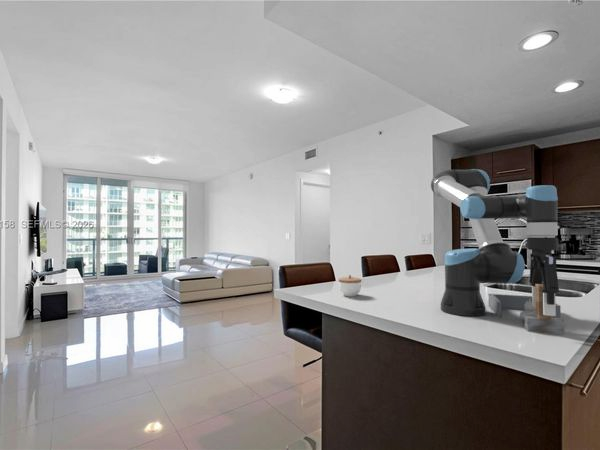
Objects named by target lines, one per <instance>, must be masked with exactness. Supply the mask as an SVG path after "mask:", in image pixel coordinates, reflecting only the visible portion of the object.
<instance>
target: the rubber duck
mask: <svg viewBox="0 0 600 450" xmlns="http://www.w3.org/2000/svg"><path fill="white" fill-rule="evenodd" d="M524 308H525V309H523V310H522V311H520V313H519V316H520V319H521V320H523V321H524V315H525V316H536V308H533V307H532V302H531V300H530V299H529V302H528V301H526V303H525V304H524Z"/></svg>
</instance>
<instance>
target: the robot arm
mask: <svg viewBox="0 0 600 450" xmlns="http://www.w3.org/2000/svg"><path fill="white" fill-rule="evenodd" d="M490 188H491V178H490V177H489V174H488V173H487V172H486V171H484V170H482V169H476V168H471V169H446V170H441V171H440V172H438V173H437V174H435V175H434V176H433V178H432V179H431V182H430V189H431V191H432V192H433V193H434V194H435V195H436V196H437V197H439V198H445V199H446V200H448V201H449V202H451V203H453V204H454V205H456V206H457V207H459V209H460V214H461V216H462V217H463V218H464V219H469V222H470V226H471V228H472V232H473V234H474V237H475V240H476V243H477V245H478V248H474V247H473V248H458V249H452V250H449V251H447V252H446V253H445V254H444V255H445V257H444V278H445V279H444V285H445V287H444V288H445V289H444V292H443V294H442V295H443V296H442V298H441V300H440V310H441V312H442V311H443V312H444V313H448V314H451V315H456V316H462V317H463V316H467V317H479V316H484V315H486V314H487V311H486V310H487V308H486V304H485V302H484V299H483V297H482V293H481V284H504V285H507V284H515V283H517V282H519V281H520V280H521V279H522V277H523V276H524V271H525V259H524V257H523V255H522V254H521V253H519V252H518V251H513V250H512V248H511V245H510V244H509V243H507V242H504V241H503V238H502V236H501V233H500V231H499V230H500V229H499V228H498V225H497V223H496V220H495V219H504V220H505V219H506V220H507V219H508V220H509V219H511V220H519V219H526V223H525V224H526V236H528V237H527V238H526V248H527V249H528V250H531V251H534V252H533V253H530V255H529V256H530V266H529V267H530V268H529V269H530V270H529V280H528V281H529V283H530V285H531V296H532V307H533V308H536V294H535V284H543V286H544V290H542V291H541V292H542V293H543V315H547V316H556V304H557V303H556V294H557V293H559V291H560V288H559V280H558V269H557V257H556V256H552V253H551V251H557V250H558V249H559V239H558V237H557V236H558V235H559V234H558V231H559V230H560V225H558V220H559V219H558V215H559V214H558V207H559V206H558V204H559V203H558V201H559V197H558V192H557V191H558V190H557V187H556V186H555V185H549V184H548V185H547V184H545V185H533V186H532V185H531V186H529V187H527V189H526V191H525V194H524V195H507V196H506V195H499V196H498V195H494V196H493V195H491V196H490V195H489V196H488V193H489V191H490ZM550 287H551V288H550ZM555 303H556V304H555Z"/></svg>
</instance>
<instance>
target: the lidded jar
mask: <svg viewBox="0 0 600 450" xmlns="http://www.w3.org/2000/svg"><path fill="white" fill-rule="evenodd" d="M338 286H339V287H338V288H339V291H340V292H341V293H342V294H343V296H345V297H350V298H351V297H357V296H358V294H359V293H360V292H361V289H362V278H360V277H354V276H353V277H352V275H351V274H349V275H348V276H345V277H343V276H342V277H339V278H338Z"/></svg>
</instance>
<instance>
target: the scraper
mask: <svg viewBox="0 0 600 450" xmlns="http://www.w3.org/2000/svg"><path fill="white" fill-rule="evenodd" d="M550 288H551V287H550ZM542 290H544V286H543V283H542V284H535V294H536V310H535V311H536V316H525V315H524V320H523V321H524V330H526V331H527V332H531V333H544V334H553V335H565V320H564V319H562V318H561V319H560V318H552V317H551V316H547V315H543V293H542V292H541V291H542Z"/></svg>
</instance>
